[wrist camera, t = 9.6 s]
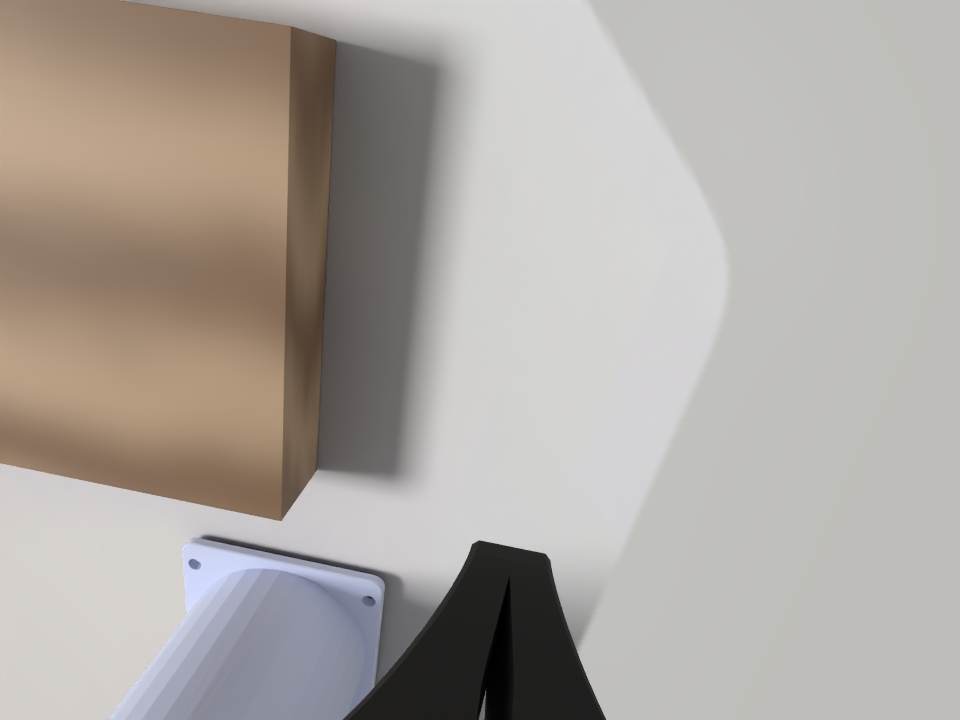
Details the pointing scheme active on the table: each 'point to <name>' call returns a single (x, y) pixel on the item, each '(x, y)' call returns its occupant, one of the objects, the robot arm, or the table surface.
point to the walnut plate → (163, 249)
